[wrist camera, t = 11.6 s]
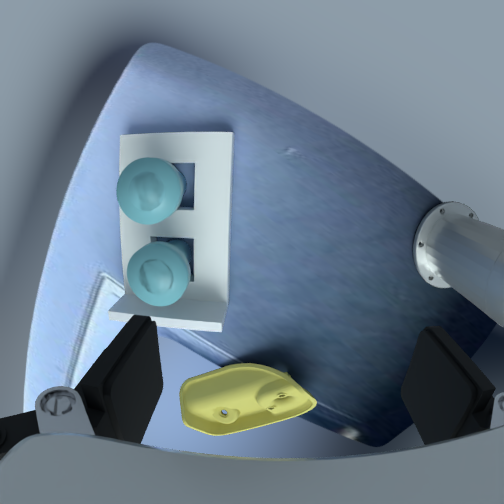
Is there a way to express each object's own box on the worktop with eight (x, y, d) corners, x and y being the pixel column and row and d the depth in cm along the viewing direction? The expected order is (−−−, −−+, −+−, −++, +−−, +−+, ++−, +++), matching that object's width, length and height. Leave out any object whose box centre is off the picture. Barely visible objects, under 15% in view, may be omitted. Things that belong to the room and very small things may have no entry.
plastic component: (215, 437, 47) (178, 422, 41) (212, 400, 53) (177, 381, 47) (324, 407, 43) (302, 388, 37) (314, 367, 48) (291, 342, 42)
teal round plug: (198, 158, 38) (179, 156, 29) (196, 212, 39) (178, 225, 31) (147, 158, 38) (116, 158, 29) (146, 210, 40) (117, 223, 31)
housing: (234, 134, 37) (227, 126, 29) (228, 302, 43) (221, 332, 35) (128, 136, 37) (99, 131, 29) (132, 294, 43) (109, 319, 35)
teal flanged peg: (202, 229, 40) (185, 247, 31) (202, 279, 42) (187, 309, 33) (152, 227, 40) (124, 244, 32) (154, 276, 42) (129, 303, 33)
